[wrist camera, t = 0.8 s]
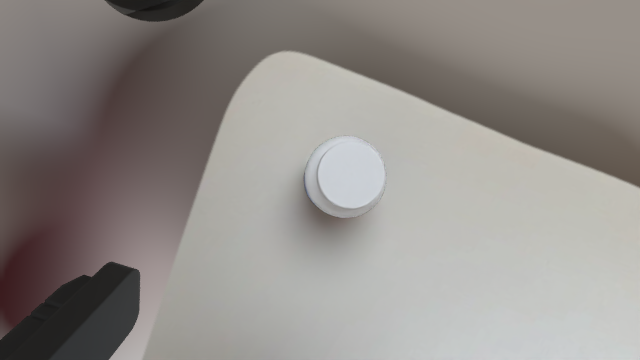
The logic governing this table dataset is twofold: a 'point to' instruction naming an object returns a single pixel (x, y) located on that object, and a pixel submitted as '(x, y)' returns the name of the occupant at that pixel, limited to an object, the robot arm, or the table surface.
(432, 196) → the table surface
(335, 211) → the pill bottle
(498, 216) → the table surface
